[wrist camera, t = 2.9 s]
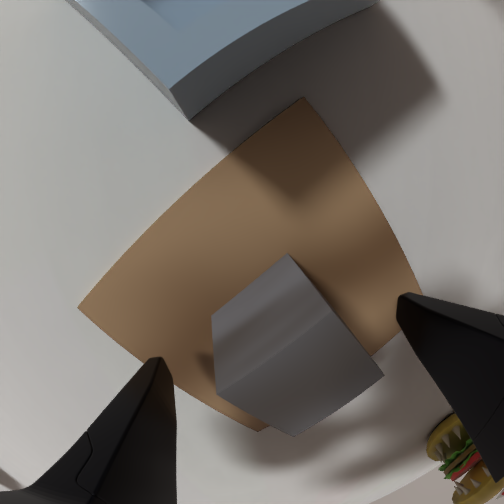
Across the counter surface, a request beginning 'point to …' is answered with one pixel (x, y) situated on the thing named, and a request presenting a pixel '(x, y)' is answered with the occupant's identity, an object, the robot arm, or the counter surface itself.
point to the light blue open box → (207, 38)
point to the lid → (264, 281)
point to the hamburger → (462, 463)
